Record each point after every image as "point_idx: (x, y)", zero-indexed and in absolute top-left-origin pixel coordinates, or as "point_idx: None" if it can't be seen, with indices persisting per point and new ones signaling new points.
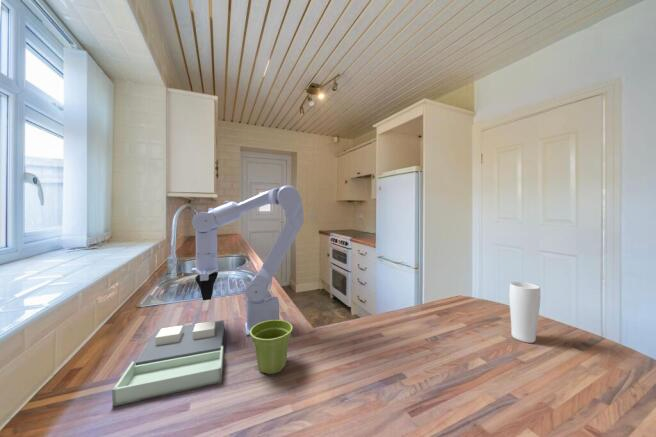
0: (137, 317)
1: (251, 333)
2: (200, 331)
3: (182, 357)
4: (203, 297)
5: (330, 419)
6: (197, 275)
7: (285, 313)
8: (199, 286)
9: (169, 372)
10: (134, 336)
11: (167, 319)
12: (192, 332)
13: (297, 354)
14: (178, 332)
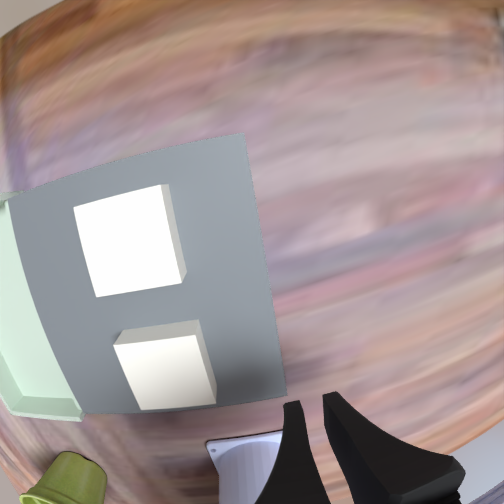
0: (437, 13)
1: (32, 497)
2: (123, 369)
3: (40, 322)
4: (284, 418)
5: (16, 480)
6: (411, 494)
7: (338, 487)
8: (267, 480)
9: (22, 292)
10: (280, 41)
11: (419, 115)
12: (183, 311)
13: (124, 499)
14: (108, 290)
